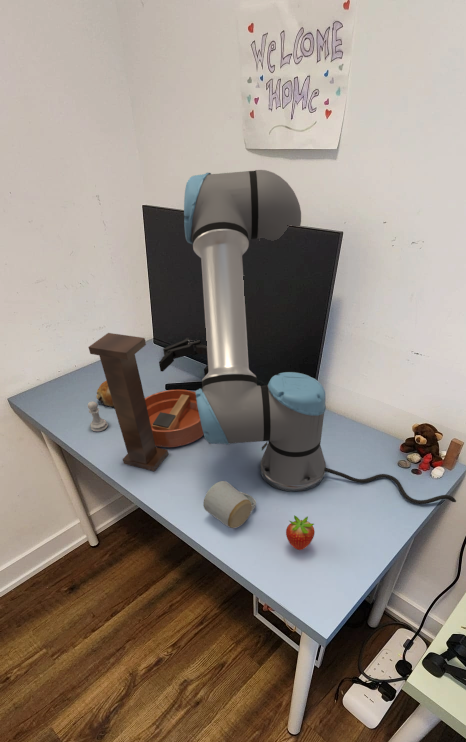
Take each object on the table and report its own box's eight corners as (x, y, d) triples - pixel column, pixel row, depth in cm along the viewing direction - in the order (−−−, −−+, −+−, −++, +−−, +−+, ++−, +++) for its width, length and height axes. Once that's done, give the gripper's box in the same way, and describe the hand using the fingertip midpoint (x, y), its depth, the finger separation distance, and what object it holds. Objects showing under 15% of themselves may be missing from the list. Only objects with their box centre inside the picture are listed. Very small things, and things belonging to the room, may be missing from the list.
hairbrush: (194, 401, 119) (192, 390, 116) (171, 438, 112) (168, 427, 108) (179, 398, 121) (176, 387, 118) (155, 434, 113) (151, 424, 110)
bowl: (222, 413, 120) (220, 396, 116) (190, 455, 107) (187, 438, 103) (160, 401, 126) (157, 384, 122) (123, 440, 113) (118, 423, 109)
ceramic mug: (230, 536, 87) (229, 511, 82) (204, 517, 91) (200, 491, 86) (264, 510, 92) (265, 484, 87) (238, 492, 97) (237, 466, 91)
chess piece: (87, 430, 117) (78, 405, 112) (97, 421, 120) (88, 396, 115) (102, 433, 116) (93, 408, 110) (111, 423, 119) (103, 398, 113)
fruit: (291, 560, 82) (293, 533, 77) (281, 540, 86) (283, 513, 80) (316, 552, 83) (320, 526, 78) (306, 534, 87) (309, 507, 81)
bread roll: (125, 417, 127) (131, 396, 122) (91, 406, 124) (95, 383, 119) (132, 400, 134) (137, 379, 129) (99, 388, 131) (104, 366, 126)
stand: (168, 454, 108) (144, 337, 86) (154, 471, 103) (126, 352, 82) (138, 447, 111) (108, 332, 89) (123, 463, 106) (88, 347, 85)
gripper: (254, 354, 126) (226, 390, 112) (180, 344, 134) (145, 376, 120) (253, 329, 121) (224, 363, 107) (176, 320, 128) (140, 351, 115)
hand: (182, 370), depth 113 cm, fingers open, 13 cm apart
